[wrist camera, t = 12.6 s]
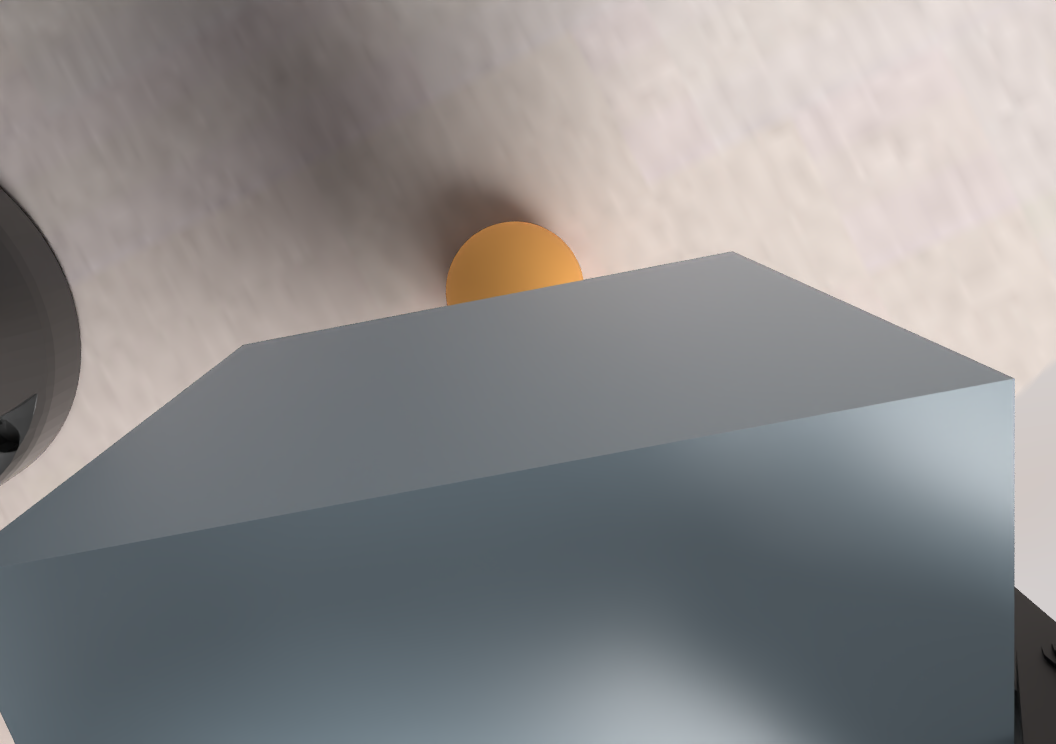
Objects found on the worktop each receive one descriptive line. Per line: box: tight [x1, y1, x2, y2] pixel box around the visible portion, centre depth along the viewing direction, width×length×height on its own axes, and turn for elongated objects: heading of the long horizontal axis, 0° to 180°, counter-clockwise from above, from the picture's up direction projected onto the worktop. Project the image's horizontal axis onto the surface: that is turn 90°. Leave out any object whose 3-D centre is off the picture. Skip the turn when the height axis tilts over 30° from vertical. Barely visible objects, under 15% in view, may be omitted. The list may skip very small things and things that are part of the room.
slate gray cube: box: [0, 251, 1015, 744], centre depth 13 cm, size 10×10×9 cm
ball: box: [446, 221, 583, 306], centre depth 27 cm, size 5×5×5 cm
